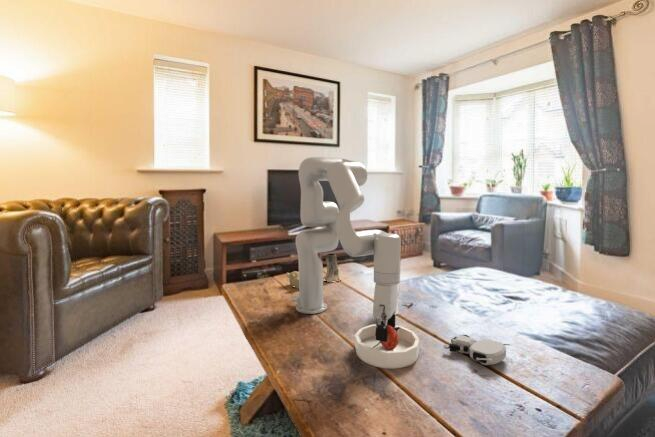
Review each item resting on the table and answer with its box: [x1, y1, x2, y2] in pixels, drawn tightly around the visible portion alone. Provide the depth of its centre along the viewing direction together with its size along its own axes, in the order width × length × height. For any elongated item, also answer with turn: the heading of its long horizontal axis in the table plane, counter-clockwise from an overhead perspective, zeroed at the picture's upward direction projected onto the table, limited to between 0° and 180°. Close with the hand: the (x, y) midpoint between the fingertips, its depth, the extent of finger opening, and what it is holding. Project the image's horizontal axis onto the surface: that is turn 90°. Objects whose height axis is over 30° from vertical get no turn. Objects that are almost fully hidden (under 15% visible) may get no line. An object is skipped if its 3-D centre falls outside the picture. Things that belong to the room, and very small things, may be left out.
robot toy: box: [443, 334, 511, 366], centre depth 94 cm, size 12×4×15 cm
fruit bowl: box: [354, 323, 420, 370], centre depth 97 cm, size 18×18×4 cm
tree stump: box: [323, 253, 340, 283], centre depth 169 cm, size 10×10×13 cm
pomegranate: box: [372, 325, 400, 351], centre depth 96 cm, size 7×7×10 cm
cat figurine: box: [285, 270, 299, 289], centre depth 159 cm, size 8×7×12 cm
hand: (385, 333), depth 96 cm, fingers open, 9 cm apart
